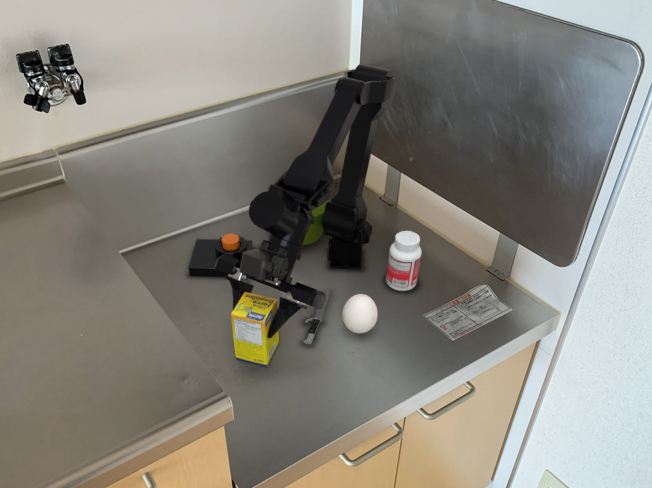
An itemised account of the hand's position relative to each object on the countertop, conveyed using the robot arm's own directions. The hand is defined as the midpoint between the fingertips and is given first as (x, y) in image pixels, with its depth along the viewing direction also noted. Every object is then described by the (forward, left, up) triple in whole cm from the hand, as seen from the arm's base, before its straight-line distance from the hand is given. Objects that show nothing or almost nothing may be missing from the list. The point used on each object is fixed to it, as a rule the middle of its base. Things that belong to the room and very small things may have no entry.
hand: (251, 330), depth 101 cm
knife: (-11, -13, -9) cm, 19 cm away
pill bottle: (-28, -24, -9) cm, 38 cm away
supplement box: (-1, -1, -7) cm, 7 cm away
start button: (+7, -30, -5) cm, 31 cm away
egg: (-19, -10, -9) cm, 23 cm away
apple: (-7, -39, -9) cm, 41 cm away
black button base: (+9, -29, -9) cm, 32 cm away
